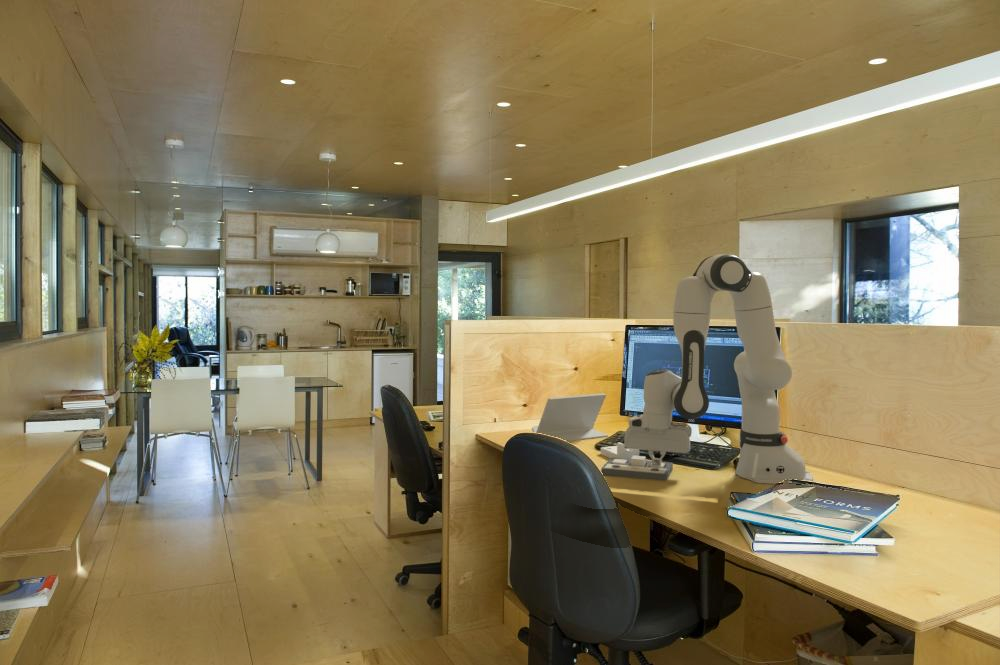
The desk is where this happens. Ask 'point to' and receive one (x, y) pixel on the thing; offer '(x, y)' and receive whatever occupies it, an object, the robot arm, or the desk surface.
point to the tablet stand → (571, 417)
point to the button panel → (637, 470)
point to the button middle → (638, 461)
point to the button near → (658, 466)
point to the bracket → (619, 451)
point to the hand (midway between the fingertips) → (656, 464)
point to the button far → (619, 462)
